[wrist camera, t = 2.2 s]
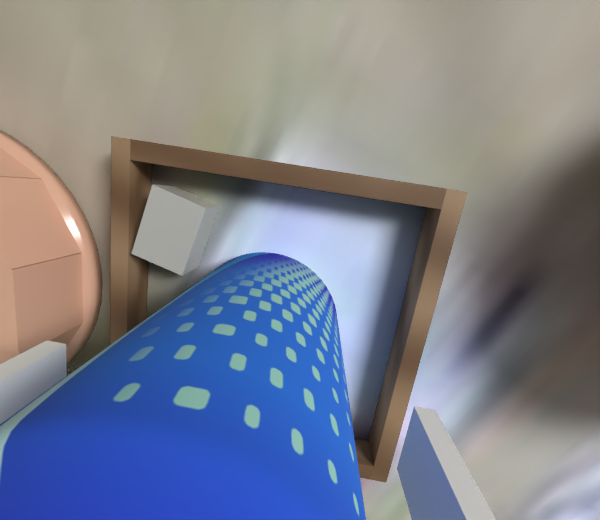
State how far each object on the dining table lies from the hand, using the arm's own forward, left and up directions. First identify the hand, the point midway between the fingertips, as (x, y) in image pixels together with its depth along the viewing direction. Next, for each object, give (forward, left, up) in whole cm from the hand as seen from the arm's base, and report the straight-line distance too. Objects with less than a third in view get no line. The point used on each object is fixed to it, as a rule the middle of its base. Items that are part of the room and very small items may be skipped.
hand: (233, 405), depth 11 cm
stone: (-5, -6, -8) cm, 11 cm away
